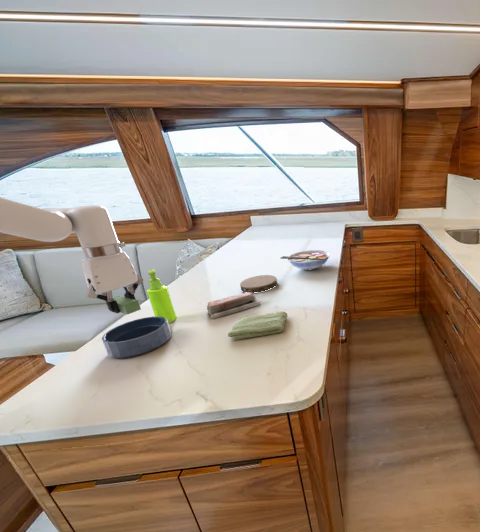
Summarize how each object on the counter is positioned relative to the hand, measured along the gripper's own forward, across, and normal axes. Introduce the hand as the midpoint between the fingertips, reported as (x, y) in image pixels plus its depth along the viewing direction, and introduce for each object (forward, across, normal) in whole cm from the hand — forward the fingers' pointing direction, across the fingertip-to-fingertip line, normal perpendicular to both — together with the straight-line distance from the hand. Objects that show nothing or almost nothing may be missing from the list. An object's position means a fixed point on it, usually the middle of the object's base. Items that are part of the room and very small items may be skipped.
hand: (124, 308), depth 89 cm
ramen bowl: (+15, -84, +1) cm, 86 cm away
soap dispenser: (+15, -17, -14) cm, 27 cm away
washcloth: (+15, -24, +26) cm, 38 cm away
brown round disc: (+15, -54, -6) cm, 56 cm away
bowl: (+15, -3, -4) cm, 16 cm away
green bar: (0, 0, 0) cm, 0 cm away
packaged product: (+15, -33, +2) cm, 36 cm away
